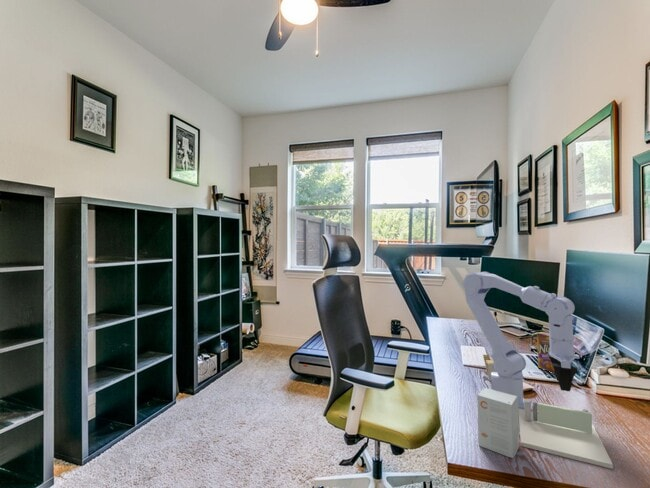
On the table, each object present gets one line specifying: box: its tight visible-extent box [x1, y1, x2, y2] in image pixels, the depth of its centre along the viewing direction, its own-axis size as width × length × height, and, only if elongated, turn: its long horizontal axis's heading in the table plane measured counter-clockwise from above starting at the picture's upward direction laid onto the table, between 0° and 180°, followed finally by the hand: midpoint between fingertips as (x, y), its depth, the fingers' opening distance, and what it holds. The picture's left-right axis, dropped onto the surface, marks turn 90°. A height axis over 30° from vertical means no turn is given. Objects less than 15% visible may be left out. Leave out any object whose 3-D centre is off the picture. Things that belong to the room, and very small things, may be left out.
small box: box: [477, 387, 520, 459], centre depth 82 cm, size 8×6×13 cm
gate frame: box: [518, 399, 614, 470], centre depth 87 cm, size 18×20×6 cm
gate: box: [532, 401, 593, 433], centre depth 89 cm, size 13×1×5 cm, turn 61°
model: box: [482, 353, 497, 382], centre depth 128 cm, size 3×11×8 cm, turn 168°
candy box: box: [536, 331, 555, 373], centre depth 132 cm, size 9×4×15 cm, turn 17°
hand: (563, 385), depth 94 cm, fingers open, 7 cm apart
